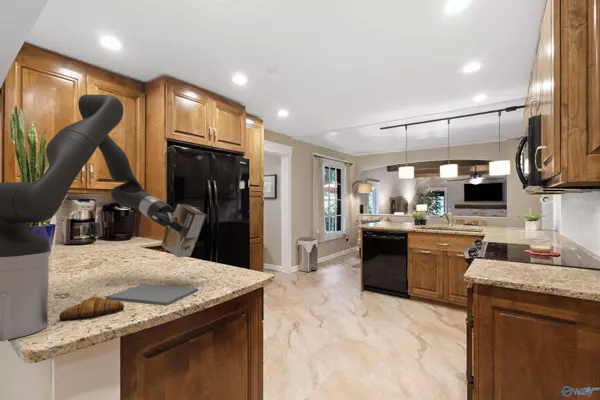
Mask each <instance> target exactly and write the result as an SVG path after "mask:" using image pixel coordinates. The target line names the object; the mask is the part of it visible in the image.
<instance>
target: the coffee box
mask: <svg viewBox="0 0 600 400" xmlns="http://www.w3.org/2000/svg"><path fill="white" fill-rule="evenodd" d="M173 212H174V215H173V217H172V219H173V220H174V222H176V223H178V224H180V225H181V226H182V229H181V231H180V232H177V231H176V230H174V229H173V228H169V227H168V226H167V229H166V231H165V235H164V238H163V239H162V242H161V244H160V247H162V248H163V249H165V250H166V251H168V252H169V253H171V254H172V255H174V256H175V257H177V258H185V257H191V255H192V253H193V250H194V248H195V245H197V244H196V243H197V241H198V238H199V236H200V235H201V231H202V229H203V227H204V224H205V222H206V219H207V217H208V214H206V213H204V211H203V212H202V211H201V210H199V209H197V208H195V207H194V206H193V205H191V204H185V203H177V205H176V208H175V211H173Z"/></svg>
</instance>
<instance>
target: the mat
mask: <svg viewBox="0 0 600 400" xmlns="http://www.w3.org/2000/svg"><path fill="white" fill-rule="evenodd" d="M198 291H199V288H196V287H185V286H173V285H161V284H160V285H159V284H152V283H151V284H148V283H142V284H139V285H136V286H133V287H130V288H127V289H124V290H121V291H119V292H114V293H112V294H109V295H106V296H105V299H106V300H114V301H119V302H131V303H141V304H152V305H158V306H159V305H161V306H169V305H171V304H173V303H176V302H177V301H180V300H182V299H183V298H185V297H188V296H190V295H192V294H195V293H197V292H198Z"/></svg>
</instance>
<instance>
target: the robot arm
mask: <svg viewBox="0 0 600 400" xmlns="http://www.w3.org/2000/svg"><path fill="white" fill-rule="evenodd" d="M77 105H78V111H79V113H80V116H81V120H78V121H76V122H73V123H71V124H69V125H66V126H65V127H63V128H61V129H60V130H59V131H57V133H56V134H55V135H54V136H53V137H52V138H51V139H50V140H49V142H48V143H47V145H46V149H45V154H46V155H45V156H46V161H47V162H48V168H47V169H46V171H45V172H43V174H42V175H41V176H40V177H39V178H38V179H37V180H34V181H19V182H17V181H9V182H8V181H7V182H6V181H5V182H0V342H6V341H9V340H12V339H17V338H21V337H26V336H29V335H33V334H35V333H37V332H40V331H43V330H44V329H47V327H48V326H49V277H50V276H49V268H50V267H49V265H50V264H49V263H50V261H49V260H50V259H49V257H50V253H49V252H50V242H49V240H48V239H47V238H46V237H43V236H39V235H37V234H35V233H33V232H31V230H29V227H28V224H35V223H37V224H39V223H42V222H46V221H49V220H51V218H53V216H54V215H56V214H57V212H58V211H59V209H60V207H61V205H62V203H63V202H64V200H65V198H66V196H67V194H68V192H69V190H70V189H71V187H72V185H73V183H74V182H75V180H76V178H77V177H78V176H79V174H80V172H81V171H82V170H83V168H84V167H85V166H86V164H87V163H88V161H89V160H90V159H91V157H92V156H93V155H94V154H95V152H96V150H97V149H99V150H100V153H101V155H102V157H103V159H104V162H105V165H106V167H107V170H108V173H109V175H110V178H111V179H112V180H113V181H115V182H123V181H124V183H122V184H118V185H116V186H114V187H113V188H112V189H111V192H110V196H111V198H112V200H113V201H114V202H115V203H116V204H119V205H121V206H124V207H128V208H131V209H135V210H137V211H139V212H141V213H142V214H143V215H144V216H145V217H146V218H148V219H150V220H152V221H153V222H155V223H156V224H158V225H160V226H162V227H165V228H166V227H167V228H168V227H169V228H173V229H174V230H176V231H177V232H180V231H181V229H182V226H181V225H180V224H178V223H176V222H174V220H173V219H172V217H173V215H174V212H175V211H174V210H173V209H174V208H173V207H172V206H171V205H170V204H168V203H166V202H164V201H163V200H161V199H160V198H158V197H155V196H153V195H151V194H150V193H148V192H146V191H144V190H143V186H142V185H141V183H140V182H139V180H138V179H137V178H136V177H135V174H134V173H133V171H132V168H131V164H130V162H129V158H128V156H127V154H126V152H125V151H124V150H123V148H121V147H120V146H119V145H118V144H117V143H116V142H115V141H114V140H113V139H112V138H111V136H110V135H109V134H110V133H111V132H112V131H113V130H114V129H115V128H116V127H117V126H118V125H119V124H120V122H121V121H122V119H123V117H124V105H123V103H122V101H121V100H120V99H119V98H118V97H117V96H114V95H111V94H83V95H81V96H79V98H78V103H77ZM125 181H126V182H125Z"/></svg>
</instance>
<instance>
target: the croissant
mask: <svg viewBox="0 0 600 400" xmlns="http://www.w3.org/2000/svg"><path fill="white" fill-rule="evenodd" d="M124 308H125V305H124V303H123V302H122V301H119V300H110V299H106V298H103V297H99V296H95V295H93V296H90V297H88V298H87V299H84V300H83V301H81V302H80V303H78V304H75V305H73V306H70V307H68V308H65V310H63V311H61V312H59V316H58V317H59V320H60V321H70V320H71V321H72V320H78V319H87V318H95V317H98V316H102V315H108V314H113V313H117V312H120V311H123V310H124Z"/></svg>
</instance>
